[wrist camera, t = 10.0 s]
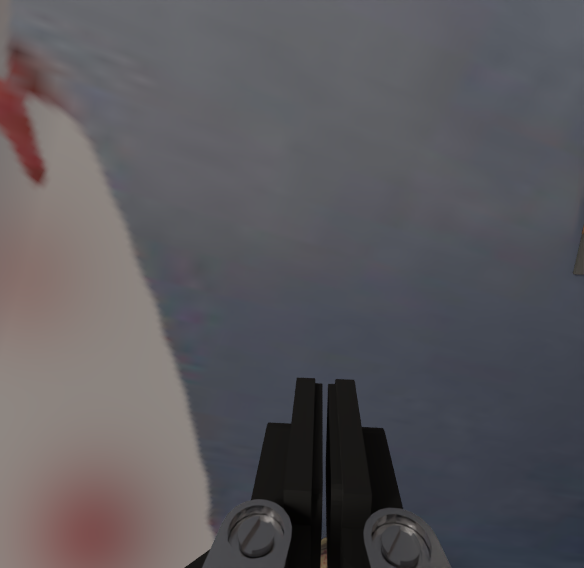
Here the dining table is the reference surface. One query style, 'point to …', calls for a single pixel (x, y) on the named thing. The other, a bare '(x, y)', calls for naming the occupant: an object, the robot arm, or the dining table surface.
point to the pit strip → (580, 258)
